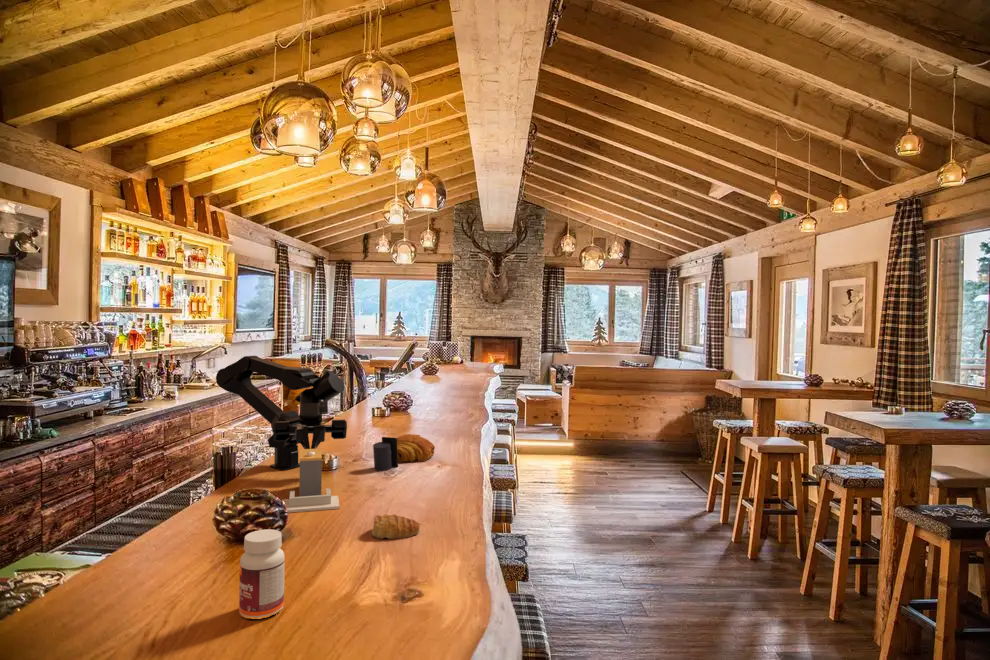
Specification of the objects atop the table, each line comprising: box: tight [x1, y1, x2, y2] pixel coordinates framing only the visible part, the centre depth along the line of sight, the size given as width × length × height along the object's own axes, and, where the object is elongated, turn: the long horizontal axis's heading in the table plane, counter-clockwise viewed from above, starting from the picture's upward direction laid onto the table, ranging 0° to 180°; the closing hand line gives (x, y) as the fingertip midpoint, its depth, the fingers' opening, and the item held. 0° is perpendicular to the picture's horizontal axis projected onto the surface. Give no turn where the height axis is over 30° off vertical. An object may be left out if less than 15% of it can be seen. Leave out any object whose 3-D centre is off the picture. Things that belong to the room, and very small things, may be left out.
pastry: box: [371, 514, 421, 540], centre depth 119 cm, size 9×7×4 cm
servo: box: [298, 448, 323, 497], centre depth 145 cm, size 10×5×10 cm, turn 17°
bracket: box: [282, 487, 340, 514], centre depth 135 cm, size 8×13×2 cm, turn 107°
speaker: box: [372, 436, 399, 472], centre depth 169 cm, size 6×5×9 cm
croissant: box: [396, 433, 436, 463], centre depth 183 cm, size 14×16×8 cm
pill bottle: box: [238, 528, 286, 618], centre depth 87 cm, size 6×6×11 cm
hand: (310, 457), depth 153 cm, fingers closed
